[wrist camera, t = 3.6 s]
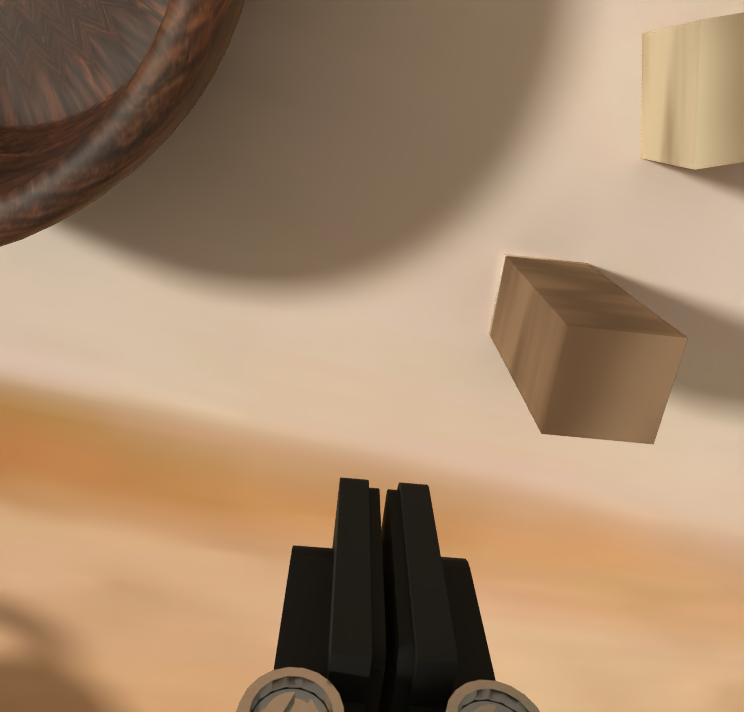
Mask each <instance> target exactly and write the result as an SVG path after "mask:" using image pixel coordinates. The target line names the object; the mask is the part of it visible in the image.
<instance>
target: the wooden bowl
mask: <svg viewBox="0 0 744 712" xmlns="http://www.w3.org/2000/svg"><path fill="white" fill-rule="evenodd" d="M243 4H244V0H0V246H4V245H7V244H10V243H13V242H16V241H19V240H22V239H24V238H26V237H28V236H30V235H33V234H35V233H37V232H39V231H41V230H43V229H46V228H48V227H50V226H52V225H54V224H56V223H58V222H60V221H61V220H63V219H65V218H67V217H68V216H70V215H72V214H73V213H75V212H77V211H78V210H80V209H82V208H83V207H85V206H86V205H88V204H90V203H91V202H93V201H95V200H96V199H98V198H99V197H101V196H102V195H103V194H104V193H106V192H107V191H108V190H110V189H111V188H112V187H113V186H115V185H116V184H117V183H119V182H120V181H121V180H122V179H124V178H125V177H126V176H127V175H129V174H130V173H131V172H132V171H133V170H134V169H136V168H137V167H138V166H139V165H140V164H141V163H142V162H144V161H145V160H146V159H147V158H148V157H149V156H150V155H151V154H152V153H153V152H154V151H155V150H156V149H157V148H158V147H159V146H160V145H161V144H162V143H163V142H164V141H165V140H166V139H167V138H168V137H169V136H170V135H171V133H172V132H173V131H174V130H175V129H176V127H177V126H178V125H179V124H180V123H181V121H182V120H183V119H184V118H185V116H186V115H187V114H188V113H189V112H190V110H191V109H192V108H193V106H194V105H195V103H196V102H197V100H198V99H199V97H200V96H201V94H202V93H203V91H204V89H205V88H206V86H207V85H208V83H209V82H210V80H211V78H212V77H213V75H214V73H215V71H216V69H217V67H218V65H219V63H220V61H221V59H222V57H223V55H224V53H225V51H226V49H227V47H228V44H229V42H230V39H231V37H232V34H233V32H234V29H235V27H236V24H237V22H238V19H239V17H240V14H241V11H242V7H243Z"/></svg>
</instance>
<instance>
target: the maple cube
mask: <svg viewBox="0 0 744 712" xmlns="http://www.w3.org/2000/svg"><path fill="white" fill-rule="evenodd" d="M641 158H643V159H647V160H652V161H657V162H661V163H666V164H671V165H675V166H680V167H684V168H689V169H694V170H696V169H702V168H708V167H715V166H721V165H728V164H734V163H740V162H744V13H738V14H732V15H726V16H720V17H714V18H709V19H703V20H698V21H694V22H689V23H685V24H681V25H677V26H673V27H668V28H664V29H660V30H656V31H652V32H647V33H643V34H642V96H641Z"/></svg>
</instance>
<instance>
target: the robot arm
mask: <svg viewBox="0 0 744 712" xmlns="http://www.w3.org/2000/svg"><path fill="white" fill-rule="evenodd" d="M236 712H540V711H539V710H538V708H537V706H536V705H535V704H534V703H533V702H532V701H531V700H530V699H529V698H528V697H526V696H525V695H524V694H523V693H521V692H520V691H518V690H516V689H515V688H513V687H512V686H509V685H507V684H504V683H501V682H498V681H496V680H495V676H494V672H493V667H492V663H491V658H490V654H489V650H488V645H487V641H486V636H485V632H484V628H483V623H482V619H481V615H480V610H479V606H478V601H477V597H476V593H475V588H474V584H473V579H472V575H471V571H470V567H469V564H468V561H467V560H466V559H462V558H449V557H441V555H440V549H439V543H438V538H437V532H436V526H435V520H434V514H433V508H432V502H431V497H430V491H429V486H428V485H423V484H411V483H399V485H398V489H397V490H390V489H388V490H387V494H386V501H385V508H384V515H383V522H382V529H381V514H380V492H379V489H378V488H369V480H363V479H351V478H340V483H339V492H338V501H337V511H336V520H335V529H334V539H333V548H319V547H306V546H293V547H292V553H291V559H290V566H289V573H288V579H287V586H286V592H285V599H284V606H283V612H282V619H281V625H280V632H279V639H278V645H277V652H276V658H275V665H274V670H272V671H271V672H269V673H267V674H265V675H263V676H261V677H259V678H258V679H257V680H256V681H255V682H254V683H253V684H251V685H250V686H249V687H248V688H247V690H246V692H245V694H244V695H243V697H242V699H241V701H240V703H239V705H238V708H237V711H236Z"/></svg>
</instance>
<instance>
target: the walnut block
mask: <svg viewBox="0 0 744 712" xmlns="http://www.w3.org/2000/svg"><path fill="white" fill-rule="evenodd" d="M489 334H490V336H491V338H492V340H493V342H494V344H495V346H496V348H497V350H498V351H499V353H500V355H501V357H502V359H503V361H504V363H505V365H506V367H507V369H508V371H509V373H510V374H511V376H512V378H513V380H514V382H515V384H516V386H517V388H518V390H519V392H520V394H521V395H522V397H523V399H524V401H525V403H526V405H527V407H528V409H529V411H530V413H531V415H532V416H533V418H534V420H535V422H536V424H537V426H538V428H539V430H540V432H541V434H549V435H560V436H571V437H581V438H592V439H603V440H613V441H624V442H635V443H645V444H654V441H655V438H656V435H657V432H658V429H659V426H660V423H661V420H662V416H663V413H664V410H665V407H666V404H667V401H668V398H669V395H670V392H671V389H672V386H673V383H674V379H675V376H676V373H677V370H678V367H679V364H680V361H681V358H682V355H683V352H684V349H685V346H686V343H687V339H688V338H687V337H686V336H684V335H683V334H682V333H680V332H679V331H678V330H676V329H675V328H674V327H672V326H671V325H670V324H668V323H667V322H666V321H664V320H663V319H662V318H660V317H659V316H658V315H656V314H655V313H653V312H652V311H651V310H649V309H648V308H647V307H645V306H644V305H643V304H641V303H640V302H639V301H637V300H636V299H635V298H633V297H632V296H631V295H629V294H628V293H627V292H625V291H624V290H623V289H621V288H620V287H619V286H617V285H616V284H614V283H613V282H612V281H610V280H609V279H608V278H606V277H605V276H604V275H602V274H601V273H600V272H598V271H597V270H596V269H594V268H593V267H592V266H590V265H589V264H588V263H580V262H571V261H562V260H552V259H543V258H534V257H524V256H515V255H506V254H504V259H503V264H502V269H501V275H500V280H499V285H498V290H497V295H496V300H495V305H494V311H493V316H492V321H491V326H490V331H489Z"/></svg>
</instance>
